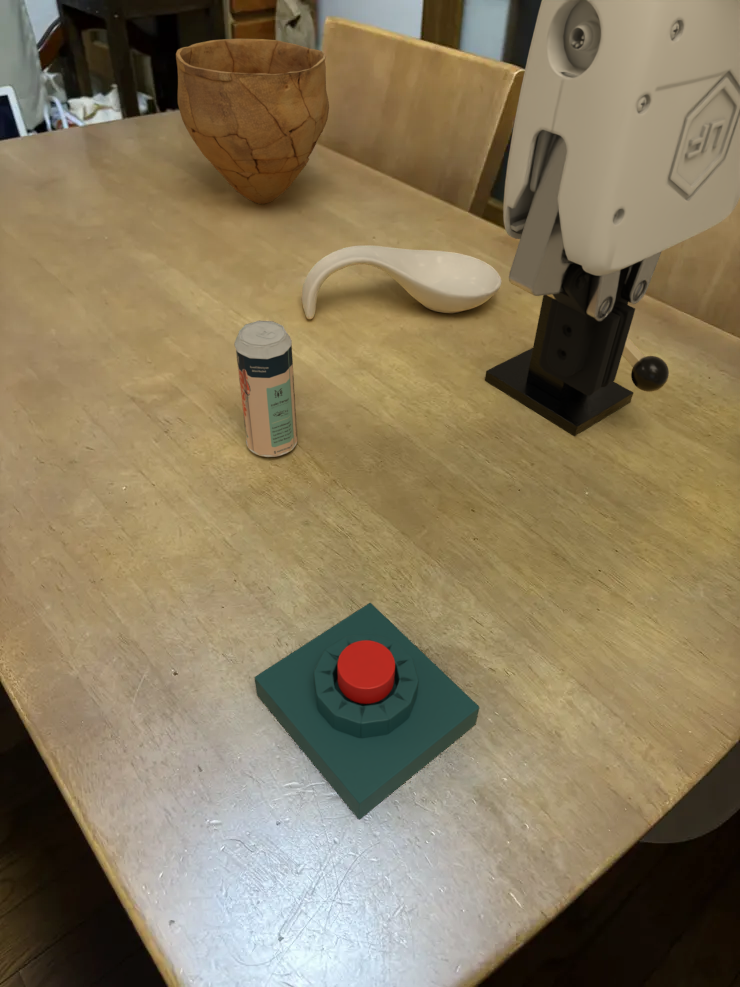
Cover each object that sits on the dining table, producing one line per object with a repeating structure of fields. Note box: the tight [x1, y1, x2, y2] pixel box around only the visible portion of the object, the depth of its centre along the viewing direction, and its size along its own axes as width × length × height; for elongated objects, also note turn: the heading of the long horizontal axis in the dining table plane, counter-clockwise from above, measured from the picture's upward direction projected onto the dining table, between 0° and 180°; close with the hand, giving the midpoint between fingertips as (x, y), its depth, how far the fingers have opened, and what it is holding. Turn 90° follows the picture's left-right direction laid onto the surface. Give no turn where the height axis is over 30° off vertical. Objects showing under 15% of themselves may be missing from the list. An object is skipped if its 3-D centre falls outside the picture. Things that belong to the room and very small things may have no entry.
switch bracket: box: [484, 295, 634, 437], centre depth 73 cm, size 12×9×13 cm
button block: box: [253, 602, 480, 820], centre depth 49 cm, size 11×10×4 cm
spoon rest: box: [301, 244, 502, 320], centre depth 88 cm, size 24×12×7 cm, turn 102°
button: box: [337, 640, 395, 704], centre depth 47 cm, size 4×4×2 cm
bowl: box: [175, 38, 330, 205], centre depth 105 cm, size 21×20×20 cm
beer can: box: [234, 320, 298, 458], centre depth 66 cm, size 5×5×12 cm
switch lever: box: [622, 335, 670, 393], centre depth 69 cm, size 13×3×3 cm, turn 40°
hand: (575, 375), depth 35 cm, fingers closed
